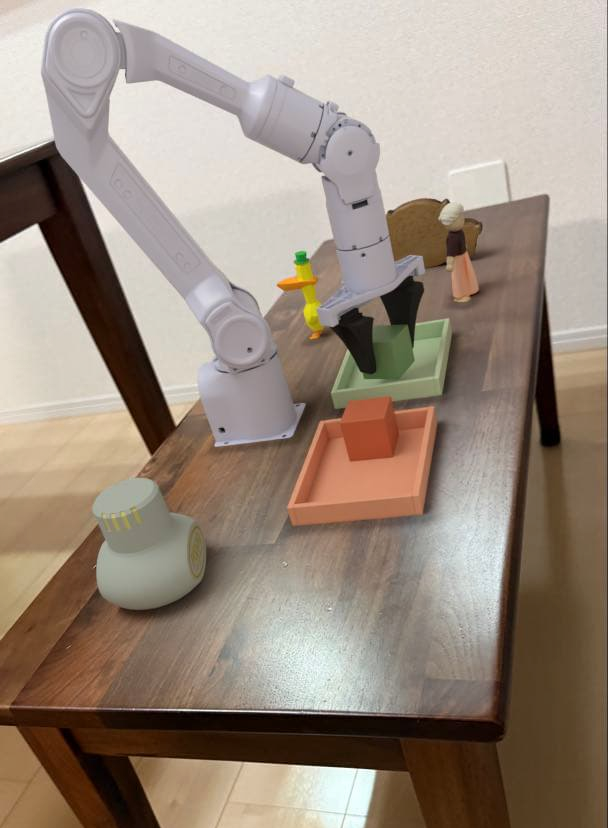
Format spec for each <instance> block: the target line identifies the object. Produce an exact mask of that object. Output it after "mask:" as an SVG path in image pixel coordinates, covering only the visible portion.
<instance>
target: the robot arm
mask: <svg viewBox="0 0 608 828" xmlns="http://www.w3.org/2000/svg"><path fill="white" fill-rule="evenodd" d="M112 22H113V23H114V26H115V27H116V28H117V29H118V30H119V31H116V30H115V28H114V26H113V25H112V24H111V23H110V22H109V20H108V19H107V18H106V17H105V16H103V15H102V14H101V13H99V12H97V11H94V10H93V9H88V8H83V7H73V8H69V9H65V10H64V11H62V12H60V13H59V14H57V15H56V16H55V17H54V18H53V19H52V20H51V22H50V23H49V25H48V27H47V29H46V32H45V36H44V40H43V50H42V57H41V65H40V75H41V79H42V83H43V87H44V90H45V91H44V92H45V97H46V101H47V107H48V112H49V118H50V122H51V128H52V133H53V138H54V144H55V147H56V150H57V151H58V153H59V155H60V156H61V158H62V159H63V160H64V161H65V162H66V163H67V165H68V166H69V167H70V168H71V169H72V171H73V172H75V174H76V175H77V176H78V177H79V178H80V180H81V181H82V182H83V184H84V185H86V187H87V188H88V189H89V190H90V191H91V193H92V194H93V195H94V196H95V197H96V198H97V200H98V201H99V202H100V203H101V205H103V206H104V208H105V209H106V210H107V211H108V212H109V213H110V215H111V216H112V217H113V218H114V220H115V221H116V222H117V223H118V224H119V225H120V226H121V228H122V229H123V230H124V231H125V232H126V233H127V234H128V236H129V237H130V238H131V239H132V240H133V241H134V243H135V244H136V245H137V246H138V247H139V248H140V250H141V251H142V252H143V253H144V254H145V256H147V258H148V259H149V260H150V261H151V262H152V264H153V265H154V266H155V267H156V269H158V271H159V272H160V273H161V274H162V275H163V276H164V277H165V279H166V280H167V281H168V282H169V284H170V285H171V286H172V287H173V288H174V289H175V291H176V292H177V293H178V294H179V295H180V296H181V298H182V299H183V300H184V301H185V303H186V305H187V306H188V307H189V310H190V311H191V312H192V314H193V316H194V317H195V319H196V321H197V322H198V323H199V325H201V327H202V328H203V329H204V330H205V331H206V333H207V335H208V338H209V341H210V345H211V350H212V352H213V354H214V356H213V357H212V360H211V361H207V362H204V363H202V364H201V366H200V368H199V369H198V373H197V389H198V390H197V391H198V395H199V398H200V403H201V405H202V408H203V410H204V412H205V416H206V420H207V421H208V424H209V427H210V430H211V432H212V435H213V437H214V441H215V443H214V444H213V446H214V448H218V447H224V446H225V447H226V446H233V445H234V446H235V445H242V444H251V443H257V442H266V441H273V440H282V439H290V438H292V437H293V436H294V434H295V433H296V429H297V427H298V424H299V422H300V420H301V417H302V415H303V413H304V411H305V408H306V405H307V404H306V403H305V402H300V403H294V401H293V397H292V393H291V390H290V387H289V383H288V380H287V377H286V376H287V375H286V373H285V368H284V366H283V362H282V359H281V356H280V353H279V349H278V346H277V345H278V344H277V342H276V341H275V340H273V339H272V331H271V328H270V325H269V323H268V322H267V320H266V319H265V318H264V316H263V314H262V312H261V309H260V306H259V302H258V301H257V299H256V298H255V296H254V295H253V294H252V293H251V292H250V291H248V290H247V289H245V288H243V287H240V286H238V285H237V284H235V283H234V282H232V281H231V280H230V279H229V278H228V277H227V276H226V274H225V273H224V272H223V271H222V270H221V269H220V268H219V267H218V266H216V264H215V263H214V262H213V261H212V260H211V258H210V257H209V256H208V255H207V253H206V252H205V251H204V250H203V249H202V247H201V246H200V245H199V244H198V242H197V241H196V240H195V238H193V236H192V235H191V234H190V233H189V231H188V230H187V229H186V228H185V227H184V225H183V224H182V223H181V221H180V220H179V219H178V218H177V216H176V215H175V214H174V213H173V211H172V210H171V209H170V208H169V207H168V205H166V203H165V202H164V200H163V199H162V198H161V197H160V196H159V195H158V193H157V192H156V190H155V189H154V188H153V187H152V186H151V184H150V183H149V182H148V181H147V180H146V178H145V177H144V176H143V174H142V173H141V172H140V171H139V170H138V169H137V167H136V166H135V165H134V164H133V161H131V160H130V158H128V156H127V155H126V154H125V153H124V151H123V150H122V148H120V146H119V145H118V144H117V142H116V141H115V140H114V139H113V138H112V137H111V135H110V132H109V123H110V105H111V100H110V97H111V94H112V91H113V90H114V87H115V84H116V81H117V78H118V75H119V72H120V70H124V78H125V83H126V84H128V85H129V84H136V83H146V82H154V81H158V82H162V83H163V84H165V85H167V86H170V87H172V88H175V89H177V90H180V91H181V92H183V93H186V94H188V95H190V96H192V97H195V98H196V99H198V100H201V101H203V102H205V103H207V104H210V105H212V106H214V107H216V108H219V109H221V110H223V111H225V112H228V113H230V114H232V115H234V116H236V118H237V119H238V122H239V125H240V128H241V131H242V133H243V135H244V137H245V138H246V139H249V140H251V141H252V142H255V143H257V144H259V145H262V146H264V147H266V148H268V149H270V150H272V151H274V152H276V153H278V154H280V155H281V156H285V157H287V158H289V159H291V160H293V161H295V162H297V163H299V164H301V165H308V164H311V166H312V167H313V168H314V170H316V171H317V172H318V173H323V175H321V176H320V179H321V184H322V187H323V191H324V196H325V208H326V213H327V216H328V220H329V225H330V229H331V234H332V238H333V242H334V246H335V252H336V255H337V259H338V264H339V268H340V269H339V270H340V273H341V277H342V280H341V281H340V285H341V287H340V288H339V289H338V290H337V291H336V292H335V293H334V294H333V295H332V296H330V298H329V299H327V300H326V301H325V302H324V303H323V304H322V303H321V304H322V305H321V306H319V307H318V308H316V309H317V313H318V317H319V321H320V325H323V326H325V327H328V328H329V329H330V330H332V331H333V332H334V334H336V335H337V337H338V338H339V339H340V340H341V342H342V343H343V344H344V346H345V348H346V349H348V350H349V352H350V353H351V355H352V357H353V359H354V360H355V362H356V364H357V366H358V368H359V370H360V372H362V373H367V374H374V373H375V372H376V359H375V354H374V349H373V339H372V331H373V326H374V322H375V321H374V320H375V318H374V317H372V316H367V315H363V312H362V311H361V312H360V310H359V309H361V308H362V307H365V306H366V305H367V304H370V303H371V302H373V301H375V300H377V299H378V298H380V300H381V303H382V304H383V307H384V309H385V312H386V315H387V318H388V320H389V323H390V324H389V325H406V324H407V325H408V328H409V333H410V338H411V343H412V349H413V348H414V335H415V324H416V323H417V316H418V311H419V307H420V304H421V301H422V298H423V295H424V293H425V286H424V282H422V281H417V280H414V277H420V276H422V275H424V274H425V273H426V268H424V262H423V256H415V255H409V256H407V257H405V258H403V259H401V260H399V261H396V262H394V257H393V252H392V247H391V242H390V236H389V231H388V226H387V220H386V210H385V205H384V200H383V194H382V191H381V188H380V187H379V181H378V174H377V171H376V168H377V167H378V164H379V161H380V156H381V145H380V143H379V142H377V141H376V138H375V136H374V135H375V134H373V133H372V130H371V129H370V128H369V126H368V125H366V124H365V123H363V122H362V121H360V120H357V119H355V118H353V117H351V116H348V115H347V113H345V112H344V111H338V110H339V107H340V106H339V104H337V103H335V102H333V101H332V100H330V99H329V100H327V101H326V103H324V102H322V101H321V100H318V99H317V98H314V97H313V96H311V95H308V94H307V93H306V92H305V93H304V92H303V91H301V90H299V89H298V88H295V87H294V85H295V83H296V82H295V80H294V79H293V78H291V77H289V76H287V75H285V74H283V73H280V74H279V77H278V78H276V77H274V76H272V75H270V74H266V75H264V76H261V77H258V78H257V79H255V80H252V81H247V80H244V79H243V78H241V77H239V76H237V75H235V74H234V73H231V72H230V71H228V70H226V69H224V68H222V67H221V66H219V65H217V64H215V63H214V62H212V61H210V60H208V59H206V58H204V57H202V56H200V55H198V54H197V53H195V52H193V51H191V50H190V49H188V48H186V47H184V46H182V45H181V44H178V43H177V42H175V41H172V40H171V39H169V38H167V37H165V36H163V35H161V34H160V33H158V32H156V31H153V30H150V29H149V28H148V29H147V28H144V27H141V26H138V25H135V24H131V23H128V22H125V21H122V20H119V19H115V18H112Z"/></svg>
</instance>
